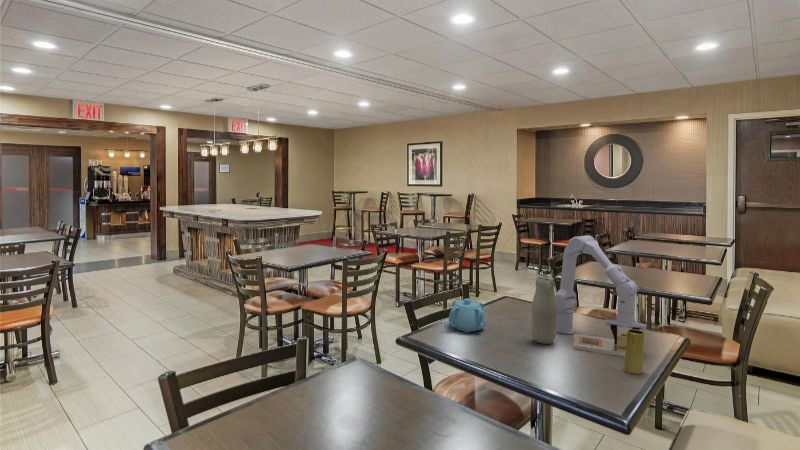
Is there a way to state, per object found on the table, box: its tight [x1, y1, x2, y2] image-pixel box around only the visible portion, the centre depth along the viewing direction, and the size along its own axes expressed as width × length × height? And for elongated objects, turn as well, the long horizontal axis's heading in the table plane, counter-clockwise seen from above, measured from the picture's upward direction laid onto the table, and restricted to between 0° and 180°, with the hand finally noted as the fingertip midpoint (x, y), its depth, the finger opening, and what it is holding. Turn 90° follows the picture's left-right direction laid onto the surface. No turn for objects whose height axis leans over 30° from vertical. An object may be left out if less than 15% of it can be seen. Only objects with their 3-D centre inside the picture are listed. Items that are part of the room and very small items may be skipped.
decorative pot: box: [448, 298, 487, 334], centre depth 200 cm, size 16×16×14 cm
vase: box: [623, 328, 645, 375], centre depth 158 cm, size 6×6×14 cm
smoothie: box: [615, 310, 630, 334], centre depth 195 cm, size 6×6×14 cm
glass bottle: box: [530, 274, 558, 345], centre depth 183 cm, size 10×10×28 cm
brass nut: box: [615, 331, 627, 349], centre depth 177 cm, size 5×5×6 cm
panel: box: [572, 333, 626, 358], centre depth 180 cm, size 24×14×2 cm, turn 67°
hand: (623, 344), depth 178 cm, fingers closed on brass nut, 5 cm apart
